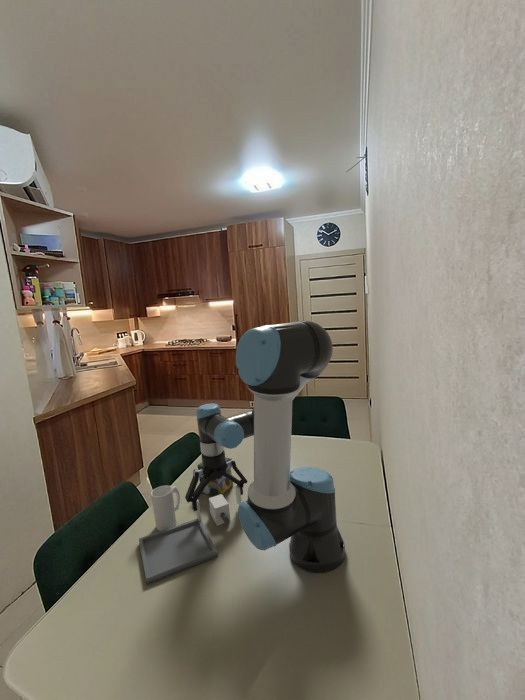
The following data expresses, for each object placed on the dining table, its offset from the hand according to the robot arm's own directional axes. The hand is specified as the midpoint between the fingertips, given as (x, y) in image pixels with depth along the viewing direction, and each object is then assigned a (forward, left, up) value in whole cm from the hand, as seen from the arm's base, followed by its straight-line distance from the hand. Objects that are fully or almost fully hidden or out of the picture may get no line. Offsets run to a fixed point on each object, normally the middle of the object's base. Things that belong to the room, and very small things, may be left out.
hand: (219, 511), depth 115 cm
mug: (+6, +15, -2) cm, 17 cm away
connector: (0, 0, -2) cm, 2 cm away
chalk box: (+17, -4, -2) cm, 18 cm away
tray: (-8, +16, -2) cm, 18 cm away
